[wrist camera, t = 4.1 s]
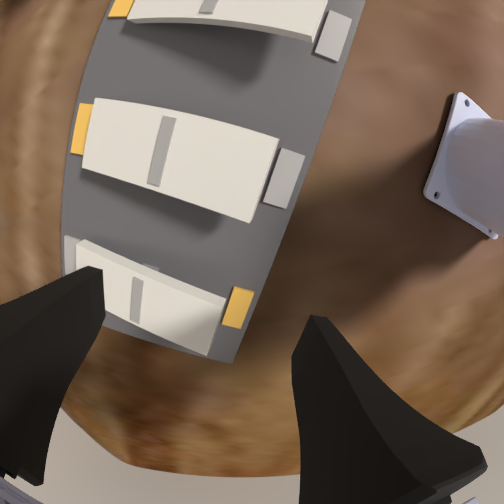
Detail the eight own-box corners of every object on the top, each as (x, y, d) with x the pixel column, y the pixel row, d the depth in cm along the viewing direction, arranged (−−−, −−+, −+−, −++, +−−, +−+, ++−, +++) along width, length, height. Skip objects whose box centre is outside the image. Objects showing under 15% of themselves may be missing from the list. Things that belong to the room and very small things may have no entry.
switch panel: (359, -8, 10) (373, -22, 8) (233, 344, 21) (231, 368, 19) (156, -49, 8) (145, -65, 6) (77, 296, 19) (63, 313, 17)
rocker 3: (226, 298, 14) (221, 308, 13) (210, 346, 16) (205, 357, 15) (84, 238, 14) (74, 244, 14) (84, 288, 16) (76, 295, 15)
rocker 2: (279, 139, 11) (277, 138, 10) (252, 218, 12) (249, 224, 11) (105, 98, 11) (93, 97, 10) (91, 165, 13) (80, 167, 12)
